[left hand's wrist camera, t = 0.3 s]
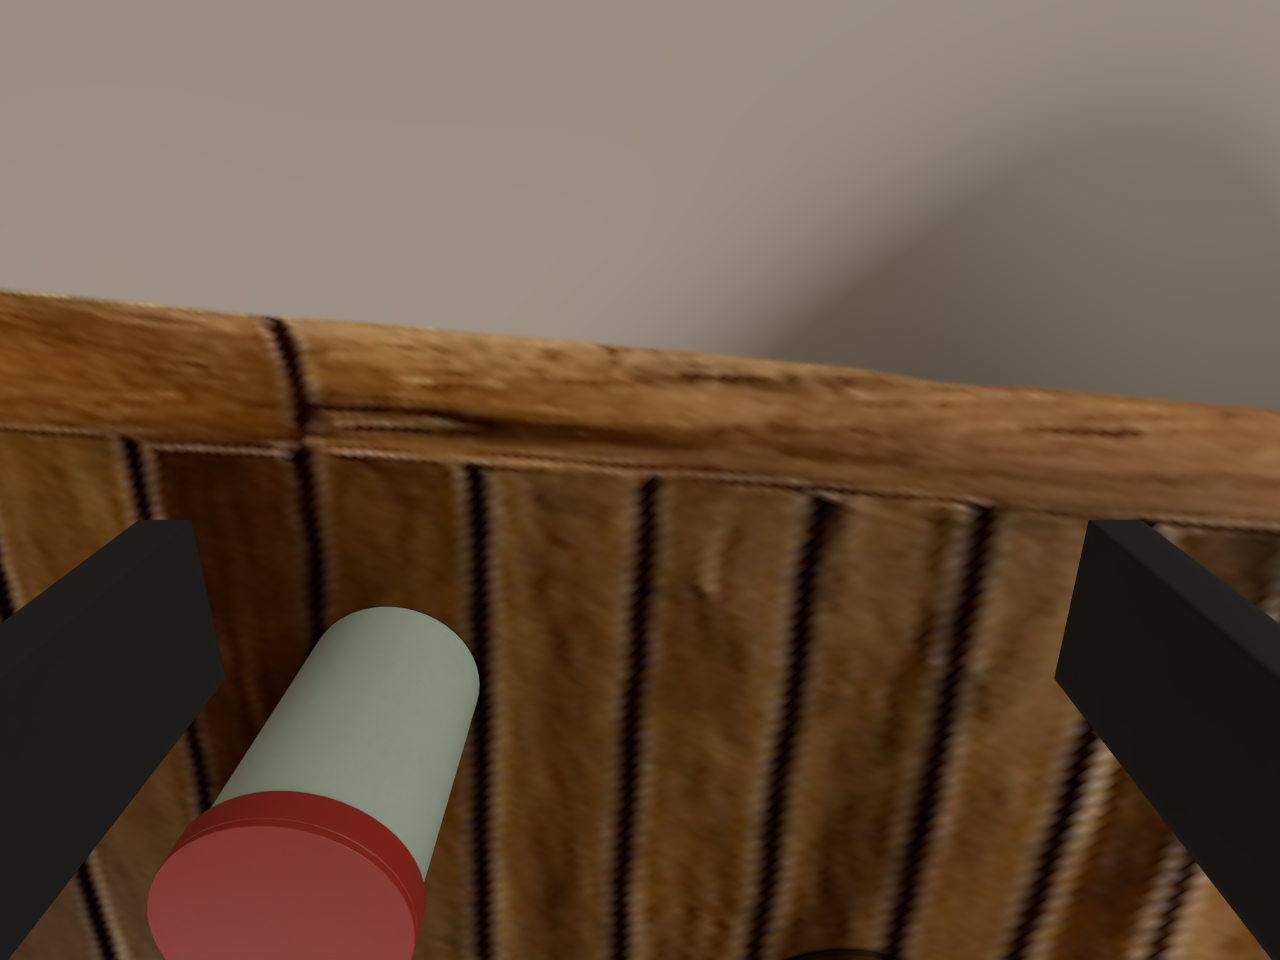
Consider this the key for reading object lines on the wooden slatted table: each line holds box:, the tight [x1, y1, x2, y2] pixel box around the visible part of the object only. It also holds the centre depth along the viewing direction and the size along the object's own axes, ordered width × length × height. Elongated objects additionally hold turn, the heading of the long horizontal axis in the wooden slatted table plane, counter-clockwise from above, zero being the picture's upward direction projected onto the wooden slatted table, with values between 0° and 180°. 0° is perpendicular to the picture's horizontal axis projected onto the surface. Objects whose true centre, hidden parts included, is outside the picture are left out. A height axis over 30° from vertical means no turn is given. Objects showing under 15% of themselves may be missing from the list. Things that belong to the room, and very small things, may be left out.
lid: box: [147, 791, 426, 960], centre depth 32 cm, size 10×10×2 cm
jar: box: [211, 607, 479, 881], centre depth 39 cm, size 9×9×16 cm
